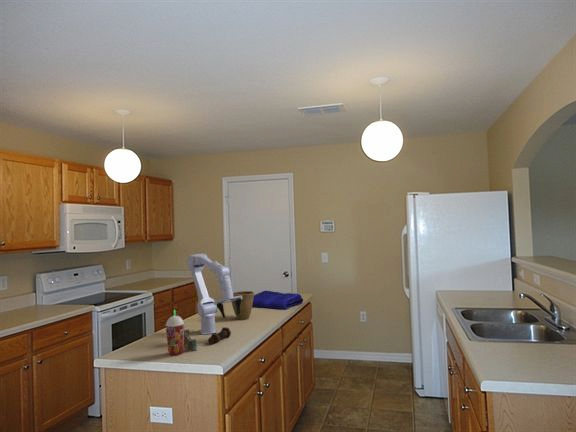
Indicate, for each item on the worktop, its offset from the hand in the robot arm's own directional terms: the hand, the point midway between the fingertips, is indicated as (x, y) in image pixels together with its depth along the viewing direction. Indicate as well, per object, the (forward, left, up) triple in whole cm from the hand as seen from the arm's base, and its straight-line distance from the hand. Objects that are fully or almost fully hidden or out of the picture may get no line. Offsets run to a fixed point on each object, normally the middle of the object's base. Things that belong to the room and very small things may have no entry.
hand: (231, 316), depth 204 cm
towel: (-72, +50, -12) cm, 88 cm away
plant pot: (-42, +18, -12) cm, 47 cm away
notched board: (-1, -22, -12) cm, 25 cm away
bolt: (-1, -7, -12) cm, 14 cm away
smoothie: (+10, -29, -12) cm, 33 cm away
